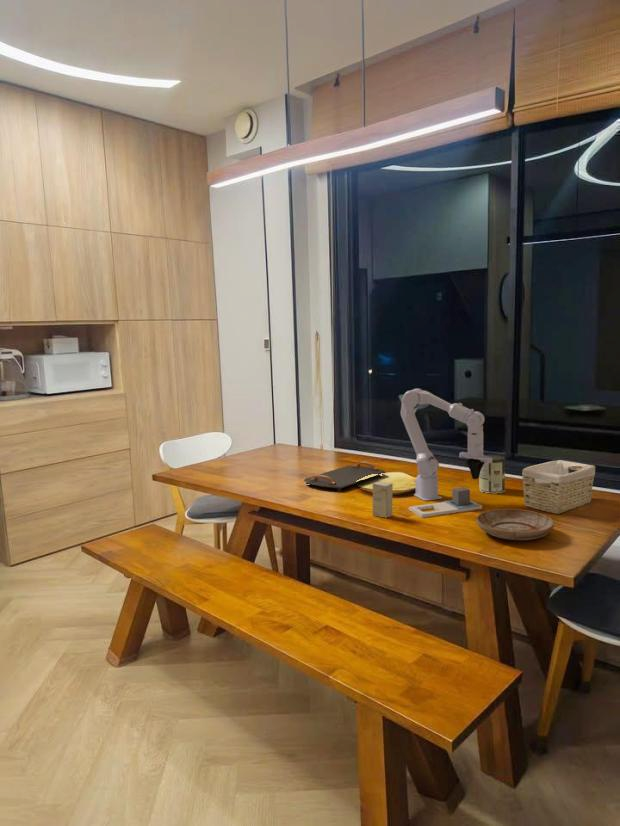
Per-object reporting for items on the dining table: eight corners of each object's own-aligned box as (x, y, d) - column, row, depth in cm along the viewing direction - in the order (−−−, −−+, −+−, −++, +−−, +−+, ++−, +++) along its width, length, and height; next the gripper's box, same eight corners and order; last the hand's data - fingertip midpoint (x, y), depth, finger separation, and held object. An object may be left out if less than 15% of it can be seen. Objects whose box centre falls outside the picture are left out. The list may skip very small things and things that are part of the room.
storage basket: (556, 494, 223) (557, 458, 221) (596, 503, 209) (597, 465, 207) (519, 506, 209) (519, 468, 207) (559, 517, 196) (560, 476, 194)
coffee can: (490, 486, 238) (490, 453, 236) (510, 491, 230) (510, 457, 228) (473, 490, 233) (473, 457, 231) (493, 495, 224) (493, 461, 222)
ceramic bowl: (493, 517, 198) (493, 504, 198) (563, 530, 183) (563, 515, 182) (464, 537, 181) (464, 522, 180) (539, 553, 166) (539, 536, 165)
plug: (452, 506, 213) (452, 488, 212) (463, 505, 214) (463, 487, 213) (458, 509, 209) (458, 491, 208) (469, 507, 210) (469, 489, 209)
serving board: (352, 469, 279) (351, 457, 278) (390, 476, 263) (390, 463, 263) (298, 487, 251) (297, 473, 250) (338, 495, 235) (337, 481, 235)
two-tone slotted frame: (408, 509, 211) (408, 506, 210) (466, 501, 218) (466, 497, 218) (421, 517, 201) (421, 513, 201) (482, 508, 208) (482, 504, 208)
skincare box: (372, 515, 206) (371, 483, 204) (379, 512, 209) (378, 480, 207) (386, 518, 202) (386, 485, 200) (393, 515, 205) (392, 483, 203)
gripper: (453, 442, 217) (453, 476, 219) (483, 448, 205) (483, 484, 207) (466, 440, 221) (466, 473, 223) (496, 445, 209) (496, 480, 211)
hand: (475, 478), depth 215 cm, fingers closed
